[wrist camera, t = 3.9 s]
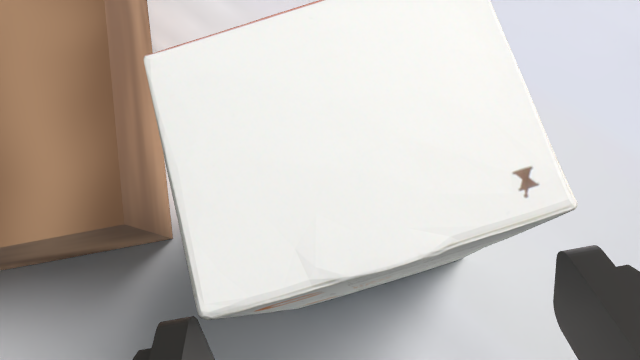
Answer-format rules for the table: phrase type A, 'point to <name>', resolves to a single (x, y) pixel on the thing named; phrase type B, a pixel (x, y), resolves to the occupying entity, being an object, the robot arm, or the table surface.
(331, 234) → the small box
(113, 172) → the podium
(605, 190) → the table surface
